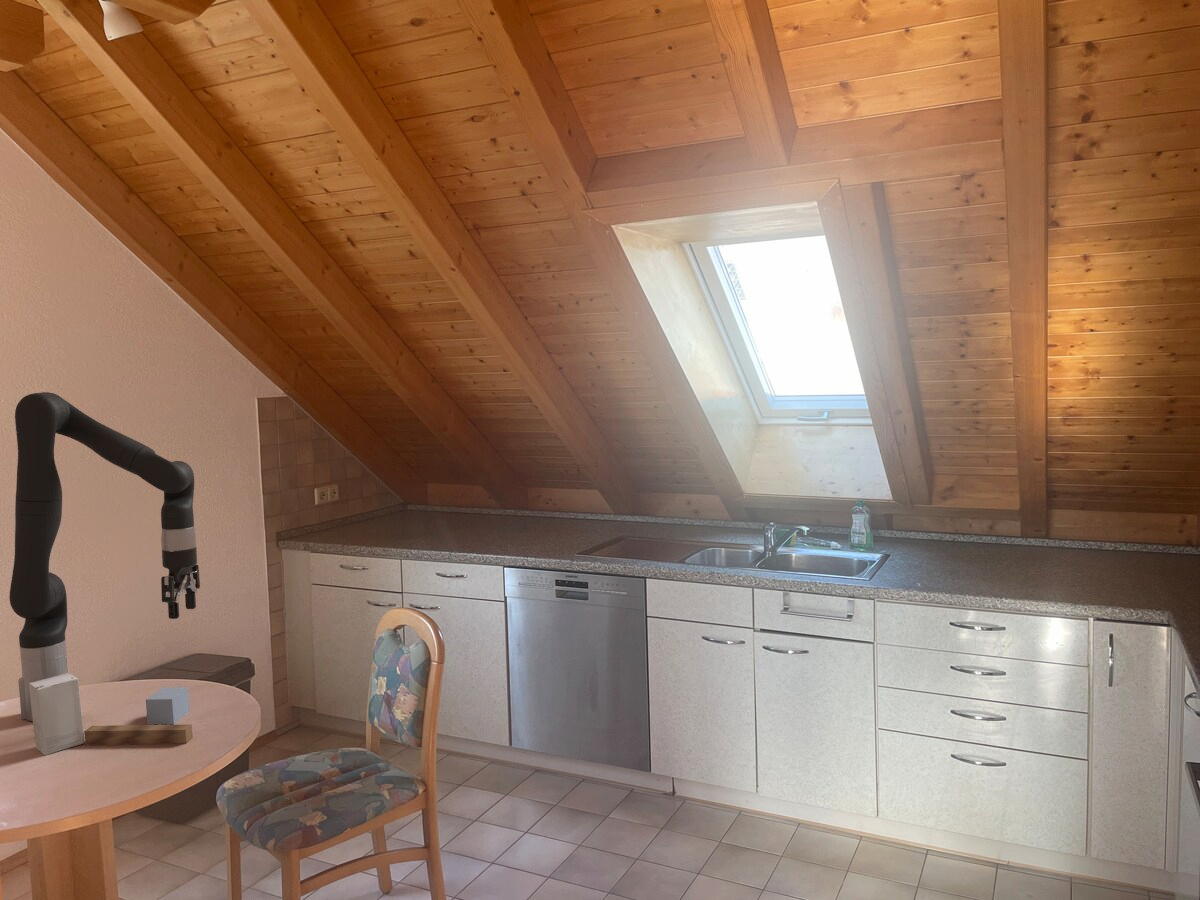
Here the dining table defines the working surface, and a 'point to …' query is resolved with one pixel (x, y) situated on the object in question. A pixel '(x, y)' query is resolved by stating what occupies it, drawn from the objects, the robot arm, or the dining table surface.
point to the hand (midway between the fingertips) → (182, 613)
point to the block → (167, 705)
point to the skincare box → (56, 713)
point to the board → (138, 734)
